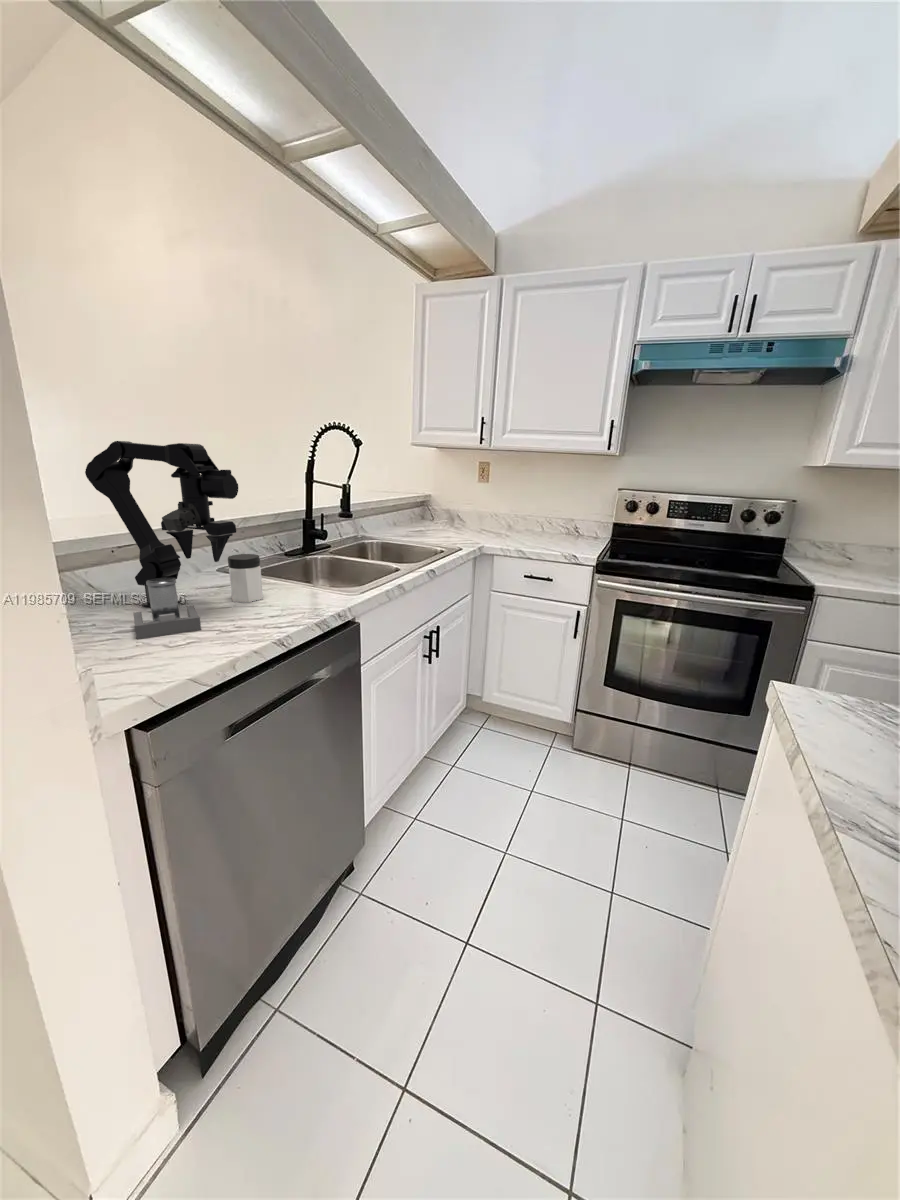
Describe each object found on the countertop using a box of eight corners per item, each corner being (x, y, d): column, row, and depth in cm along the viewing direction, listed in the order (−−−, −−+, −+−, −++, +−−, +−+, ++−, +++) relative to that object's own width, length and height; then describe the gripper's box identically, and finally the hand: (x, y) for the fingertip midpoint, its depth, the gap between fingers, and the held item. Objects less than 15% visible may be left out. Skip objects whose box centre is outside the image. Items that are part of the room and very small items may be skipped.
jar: (264, 601, 137) (261, 558, 133) (232, 604, 133) (228, 560, 130) (261, 593, 144) (257, 552, 141) (231, 596, 141) (226, 554, 138)
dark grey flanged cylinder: (145, 627, 114) (138, 581, 111) (172, 620, 120) (165, 576, 116) (162, 632, 111) (156, 585, 108) (189, 624, 117) (183, 579, 114)
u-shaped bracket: (135, 624, 116) (132, 606, 115) (195, 616, 122) (193, 599, 121) (136, 639, 107) (133, 620, 106) (201, 629, 114) (198, 611, 112)
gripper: (136, 497, 116) (146, 562, 121) (197, 501, 110) (205, 570, 115) (176, 494, 127) (184, 554, 131) (234, 498, 120) (240, 561, 125)
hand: (202, 560), depth 125 cm, fingers open, 9 cm apart
